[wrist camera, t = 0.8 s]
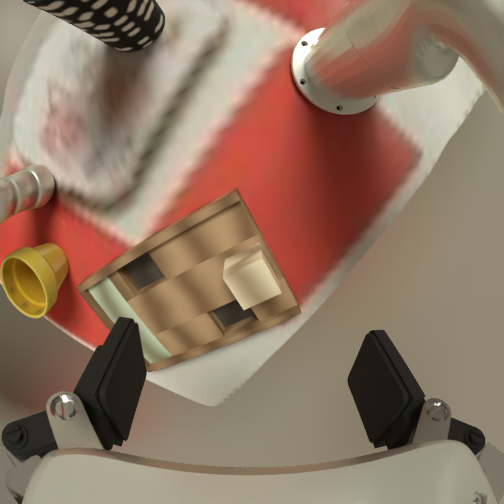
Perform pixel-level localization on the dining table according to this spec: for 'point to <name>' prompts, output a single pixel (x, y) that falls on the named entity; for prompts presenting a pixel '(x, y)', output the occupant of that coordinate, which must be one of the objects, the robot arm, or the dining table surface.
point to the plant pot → (34, 278)
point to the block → (251, 276)
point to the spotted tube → (111, 20)
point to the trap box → (187, 285)
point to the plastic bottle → (25, 190)
